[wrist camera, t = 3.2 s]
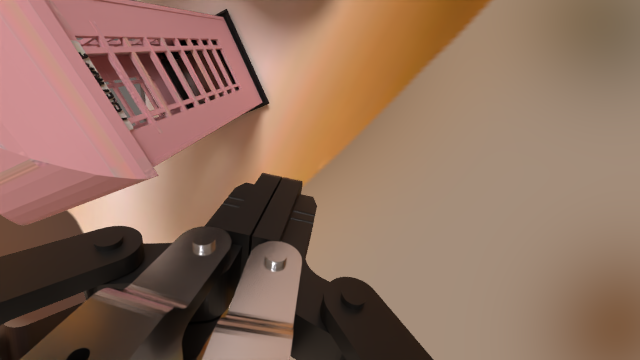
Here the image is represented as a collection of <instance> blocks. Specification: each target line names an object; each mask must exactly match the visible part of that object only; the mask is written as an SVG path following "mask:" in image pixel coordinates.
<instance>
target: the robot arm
mask: <svg viewBox="0 0 640 360" xmlns="http://www.w3.org/2000/svg"><path fill="white" fill-rule="evenodd" d="M301 190H302V181H298V180H294V179H289V178H284V177H283V178H282V177H280V176H275V175H270V174H266V173H262V174H261V176H260V177H259V179H258V180H257V182H256V183H255V184H250V183H244V184H242V185H240V186H238V187H236V188H235V189H234V190H233V191H232V193H231V194H230V195H229V197H228V198H227V199H226V200H225V201H224V203H223V204H222V205H221V206H220V208H219V209H218V210H217V211H216V213H215V214H214V215H213V216H212V218H211V219H210V220H209V221H208V223H207V224H206V225H205V226H204V227H197V228H193V229H191V230H188V231H186V232H185V233H183V234H182V235H181V236H180V237H178V238H177V239H176V240H175V241H174V242H173V243H157V244H143V240H142V235H141V233H140V232H139V231H137V230H136V229H134V228H131V227H126V226H112V227H106V228H102V229H98V230H95V231H91V232H88V233H84V234H81V235H77V236H73V237H70V238H66V239H63V240H59V241H55V242H52V243H49V244H45V245H42V246H38V247H34V248H31V249H27V250H23V251H20V252H16V253H13V254H9V255H5V256H2V257H0V360H290V356H291V357H293V358H295V359H296V360H433V359H432V358H431V356H430V355H429V354H428V353H427V352H426V351H425V350H424V348H423V347H422V346H421V345H420V343H418V341H417V340H416V339H415V338H414V336H413V335H412V334H411V333H410V332H409V330H408V329H407V328H406V327H405V326H404V325H403V324H402V323H401V321H400V320H399V319H398V318H397V316H396V315H395V314H394V313H393V312H392V311H391V309H390V308H389V307H388V306H387V305H386V304H385V302H384V301H383V300H382V299H381V298H380V297H379V295H378V294H377V293H376V292H375V291H374V290H373V288H371V287H370V286H369V285H368V284H366V283H365V282H363V281H361V280H359V279H356V278H352V277H340V278H336V279H334V280H332V281H331V282H329V281H327V280H325V279H323V278H321V277H319V276H318V275H316V274H315V273H314V272H313V271H312V270H311V269H310V268H309V266H308V265H307V263H306V260H305V258H306V254H307V250H308V246H309V241H310V237H311V232H312V227H313V222H314V217H315V212H316V208H317V205H316V203H315V200H314V198H313V197H310V196H306V195H301ZM81 292H84V294H85V297H86V301H85V302H83V303H80V304H78V305H76V306H73V307H71V308H68V309H66V310H63V311H61V312H58V313H56V314H53V315H51V316H48V317H46V318H44V319H41V320H39V321H36V322H34V323H31V324H29V325H26V326H23V327H16V328H11V327H7V326H5V325H4V323H5V322H7V321H9V320H11V319H14V318H17V317H19V316H22V315H24V314H27V313H29V312H32V311H35V310H37V309H40V308H42V307H45V306H48V305H50V304H53V303H55V302H58V301H60V300H63V299H66V298H68V297H71V296H73V295H76V294H78V293H81ZM232 299H233V300H232ZM231 301H232V303H231ZM230 303H231V305H230ZM229 305H230V308H229Z"/></svg>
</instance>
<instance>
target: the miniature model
mask: <svg viewBox="0 0 640 360" xmlns="http://www.w3.org/2000/svg"><path fill="white" fill-rule="evenodd" d="M77 38H83V39H81V40H77ZM95 39H96V40H95ZM114 39H119V40H117V41H114ZM130 39H135V40H133V41H128V40H130ZM155 40H158V41H155ZM212 42H214V44H215V45H213V44H212ZM207 44H208V45H207ZM198 50H201V51H202V53H203V55H204V57H205V59H206V61H207V63H208V65H209V67H210V69H211V71H212V73H213V75H214V77H215V79H216V81H217V83H218V85H219V87H220V89H218V90H216V89H215V87H214V85H213V83H212V81H211V79H210V77H209V75H208V73H207V71H206V69H205V67H204V65H203V63H202V61H201V59H200V57H199V56H198V54H197V52H196V51H198ZM206 50H211V51H212V53H213V55H214V57H215V59H216V61H217V63H218V65H219V67H220V69H221V71H222V74H223V76H224V78H225V80H226V82H227V84H228V86H227V87H224V85H223V83H222V81H221V79H220V77H219V75H218V73H217V71H216V69H215V67H214V65H213V63H212V61H211V59H210V57H209V55H208V53H207V51H206ZM216 50H218V52H219V54H220V56H221V58H222V60H223V62H224V64H225V66H226V68H227V70H228V73H229V75H230V77H231V79H232V81H233V83H234V84H232V82H231V80H230V78H229V76H228V74H227V72H226V70H225V68H224V66H223V64H222V62H221V60H220V58H219V56H218V54H217V52H216ZM189 53H192V55H193V57H194V59H195V61H196V62H197V64H198V66H199V68H200V70H201V72H202V74H203V76H204V78H205V80H206V82H207V84H208V86H209V87H210V89H211V92H208V93H206V92H205V90H204V88H203V86H202V84H201V82H200V80H199V79H198V77H197V75H196V73H195V71H194V69H193V67H192V65H191V63H190V61H189V60H188V58H187V56H186V55H187V54H189ZM179 58H182V60H183V62H184V63H185V65H186V67H187V69H188V71H189V73H190V75H191V77H192V78H193V80H194V82H195V84H196V86H197V88H198V90H199V92H200V93H201V95H199V96H195V94H194V92H193V91H192V89H191V87H190V85H189V83H188V81H187V80H186V78H185V76H184V74H183V72H182V70H181V68H180V67H179V65H178V63H177V61H176V60H177V59H179ZM134 77H136V78H137V80H132V81H131V80H130V79H129V78H134ZM141 77H142V78H141ZM115 80H121V81H122V82H120V83H115V82H114V81H115ZM105 82H109V84H108V85H106V84H105ZM144 82H145V83H144ZM138 83H140V85H141V87H142V88H143V90H144V92H145V93H146V95H147V97H148V98H149V100H150V102H151V103H152V105H153V107H154V108H155V110H152V111H149V110H148V108H147V106H146V105H145V103H144V101H143V100H142V98H141V97H140V95H139V93H138V92H137V90H136V88H135V87H134V85H133V84H138ZM145 84H146V85H147V87H148V88H147V87H146V85H145ZM122 86H125V87H126V89H127V90H128V92H129V94H130V95H131V97H132V98H133V100H134V102H135V103H136V105H137V106H138V108H139V110H140V111H141V113H142V114H140V115H137V116H136V115H135V114H134V112H133V111H132V109H131V107H130V106H129V104H128V103H127V101H126V100H125V98H124V96H123V95H122V93H121V92H120V90H119V89H118V87H122ZM235 87H236V89H237V91H235V89H234V88H235ZM111 88H113V90H114V92H115V93H116V95H117V96H118V98H119V99H120V101H121V103H122V104H123V106H124V107H125V109H126V110H127V112H128V113H129V115H130V118H127V116H126V115H125V113H124V112H123V110H122V108H121V107H120V105H119V103H118V102H117V100H116V98H114V95H113V94H112V92H111V91H110V90H109V89H111ZM148 89H149V90H150V92H151V93H150V92H149V90H148ZM229 89H230V90H231V92H232V93H230V94H228V93H227V90H229ZM221 92H222V93H223V95H224V96H222V97H220V96H219V94H218V93H221ZM151 94H152V95H153V97H154V98H153V97H152V95H151ZM212 95H214V97H215V99H214V100H211V101H210V99H209V98H208V97H209V96H212ZM154 99H155V100H154ZM201 99H204V101H205V103H203V104H201V105H200V104H199V102H198V100H201ZM155 101H156V102H157V103H156V102H155ZM157 104H158V105H157ZM267 104H269V101H268V99H267V97H266V95H265V93H264V90H263V88H262V86H261V84H260V82H259V79H258V77H257V75H256V73H255V71H254V68H253V66H252V64H251V62H250V59H249V57H248V55H247V53H246V51H245V48H244V46H243V44H242V42H241V40H240V37H239V35H238V33H237V31H236V29H235V26H234V24H233V22H232V20H231V18H230V15H229V13H228V11H227V9H226V10H224V11H222V12H220V13H218V14H216V15H209V14H203V13H198V12H192V11H187V10H181V9H176V8H170V7H165V6H159V5H154V4H148V3H143V2H137V1H132V0H0V214H1V215H2V216H4V217H5V218H7V219H9V220H10V221H12V222H15V223H17V224H19V225H27V224H30V223H33V222H36V221H39V220H41V219H44V218H47V217H49V216H52V215H54V214H57V213H60V212H63V211H65V210H68V209H71V208H73V207H76V206H79V205H81V204H84V203H87V202H89V201H92V200H95V199H97V198H100V197H103V196H105V195H108V194H110V193H113V192H116V191H118V190H121V189H124V188H126V187H129V186H132V185H134V184H137V183H140V182H142V181H145V180H148V179H150V178H153V177H156V176H158V174H157V173H156V171H155V169H154V168H153V167H154V166H156V165H158V164H159V163H161V162H163V161H164V160H166V159H168V158H169V157H171V156H173V155H174V154H176V153H178V152H180V151H181V150H183V149H185V148H186V147H188V146H190V145H191V144H193V143H195V142H196V141H198V140H200V139H202V138H203V137H205V136H207V135H208V134H210V133H212V132H213V131H215V130H217V129H218V128H220V127H222V126H223V125H225V124H227V123H229V122H230V121H232V120H234V119H235V118H237V117H239V116H240V115H242V114H245V113H247V112H250V111H252V110H255V109H257V108H260V107H262V106H264V105H267ZM158 106H159V107H160V108H159V107H158ZM163 114H164V115H163ZM155 115H159V117H157V118H153V116H155ZM144 119H146V122H143V123H140V122H139V121H141V120H144ZM158 120H159V121H158ZM132 123H135V124H136V125H135V126H132ZM147 124H148V125H147ZM145 125H146V126H145ZM137 128H138V129H137ZM134 129H135V130H134Z"/></svg>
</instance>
